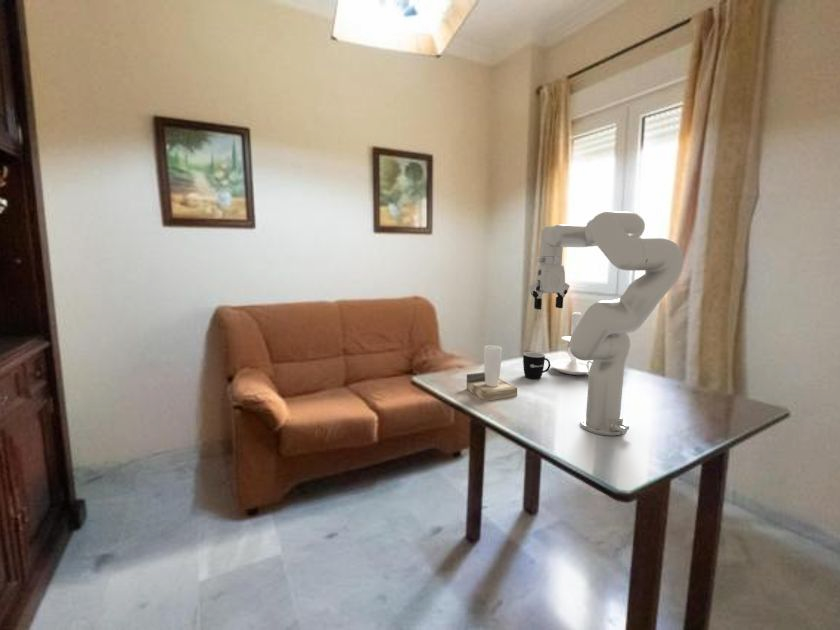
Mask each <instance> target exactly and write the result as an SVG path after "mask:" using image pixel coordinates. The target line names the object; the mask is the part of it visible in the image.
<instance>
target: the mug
mask: <svg viewBox="0 0 840 630" xmlns="http://www.w3.org/2000/svg"><path fill="white" fill-rule="evenodd" d="M545 356H546V355H545V354H544V353H541V352H533V351H528V352H524V353H523V354H522V362H523V363H522V364H523V367H522V368H523V374H524V376H525V378H527V379H530V380H539V379H541V378H542V376H543V374H544V373H546V372H549V369H550V367H551V366H550V362H551V361H550V360H549V359H548V358H546V357H545ZM545 361H546V362H547V364H548V365H547V368H546V369H544V367H545Z"/></svg>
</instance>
